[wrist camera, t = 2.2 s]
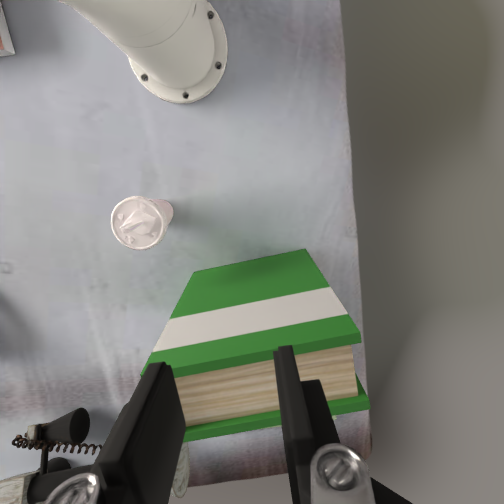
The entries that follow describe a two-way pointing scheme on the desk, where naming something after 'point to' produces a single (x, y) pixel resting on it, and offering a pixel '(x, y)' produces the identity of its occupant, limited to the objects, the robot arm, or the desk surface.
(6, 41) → the picture frame
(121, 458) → the robot arm
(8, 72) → the desk surface
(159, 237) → the smoothie
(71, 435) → the telephone
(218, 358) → the hardback book
